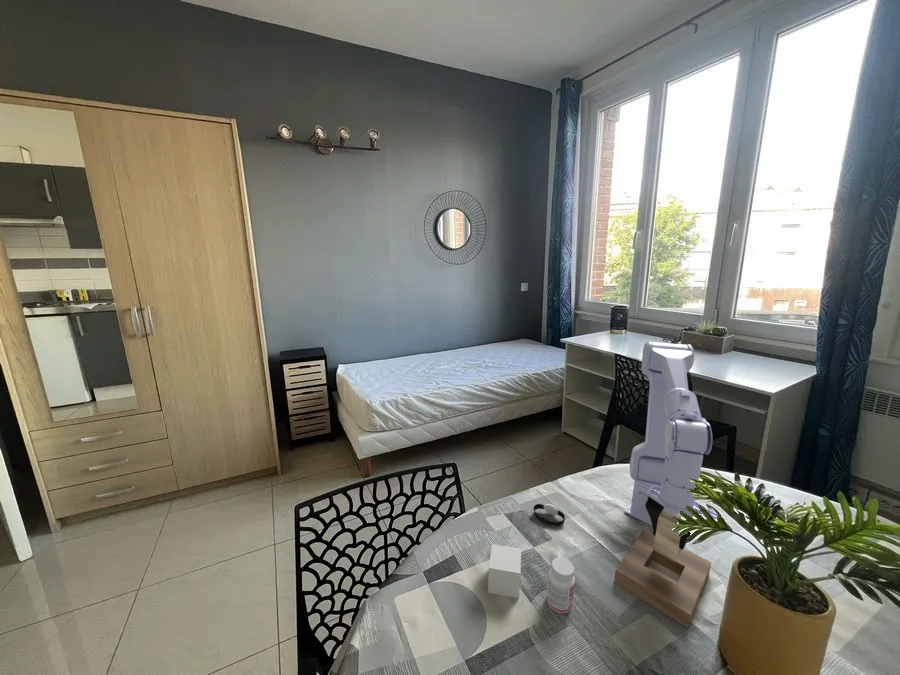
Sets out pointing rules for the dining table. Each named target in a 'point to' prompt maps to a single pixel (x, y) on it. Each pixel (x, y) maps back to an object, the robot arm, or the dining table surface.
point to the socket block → (664, 578)
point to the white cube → (504, 571)
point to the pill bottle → (561, 585)
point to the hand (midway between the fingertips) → (669, 539)
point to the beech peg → (667, 536)
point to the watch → (551, 510)
